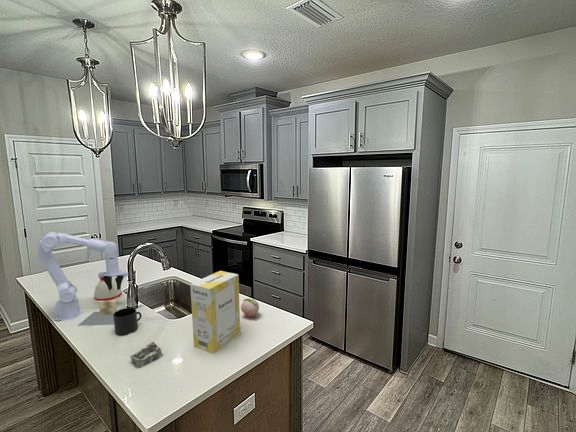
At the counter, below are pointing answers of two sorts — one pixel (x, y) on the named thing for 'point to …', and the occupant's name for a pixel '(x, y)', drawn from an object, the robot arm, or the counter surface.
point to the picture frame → (98, 319)
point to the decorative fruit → (250, 307)
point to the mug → (126, 321)
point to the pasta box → (215, 310)
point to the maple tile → (107, 307)
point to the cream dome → (106, 291)
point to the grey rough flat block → (142, 354)
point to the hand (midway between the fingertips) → (114, 289)
